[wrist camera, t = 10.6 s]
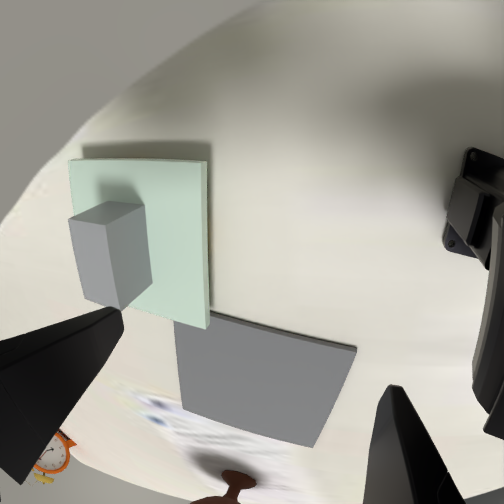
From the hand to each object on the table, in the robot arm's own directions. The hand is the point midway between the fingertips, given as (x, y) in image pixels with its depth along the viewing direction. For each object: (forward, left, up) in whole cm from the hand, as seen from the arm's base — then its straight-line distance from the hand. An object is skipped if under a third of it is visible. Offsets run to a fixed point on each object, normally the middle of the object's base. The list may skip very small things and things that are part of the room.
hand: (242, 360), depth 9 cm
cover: (+12, +3, -11) cm, 16 cm away
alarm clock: (+52, +69, -12) cm, 87 cm away
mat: (+2, +16, -12) cm, 20 cm away
